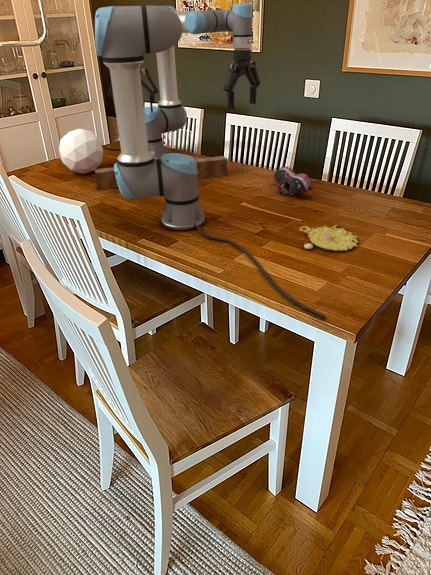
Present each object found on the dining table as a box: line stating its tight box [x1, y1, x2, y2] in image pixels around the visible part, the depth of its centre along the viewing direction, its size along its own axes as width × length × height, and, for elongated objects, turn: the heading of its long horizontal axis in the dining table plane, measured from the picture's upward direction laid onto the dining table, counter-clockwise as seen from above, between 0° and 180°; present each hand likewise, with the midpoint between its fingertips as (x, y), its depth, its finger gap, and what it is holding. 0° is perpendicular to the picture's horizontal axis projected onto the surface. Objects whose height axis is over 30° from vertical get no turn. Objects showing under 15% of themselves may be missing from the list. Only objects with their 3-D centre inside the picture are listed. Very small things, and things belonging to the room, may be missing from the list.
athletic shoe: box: [270, 166, 314, 197], centre depth 175 cm, size 11×22×12 cm
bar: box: [94, 155, 228, 191], centre depth 192 cm, size 56×5×7 cm, turn 105°
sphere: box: [58, 128, 104, 175], centre depth 202 cm, size 19×20×20 cm
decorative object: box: [299, 224, 359, 252], centre depth 141 cm, size 21×2×20 cm
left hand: (242, 106), depth 187 cm, fingers open, 13 cm apart
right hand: (135, 113), depth 181 cm, fingers open, 13 cm apart
